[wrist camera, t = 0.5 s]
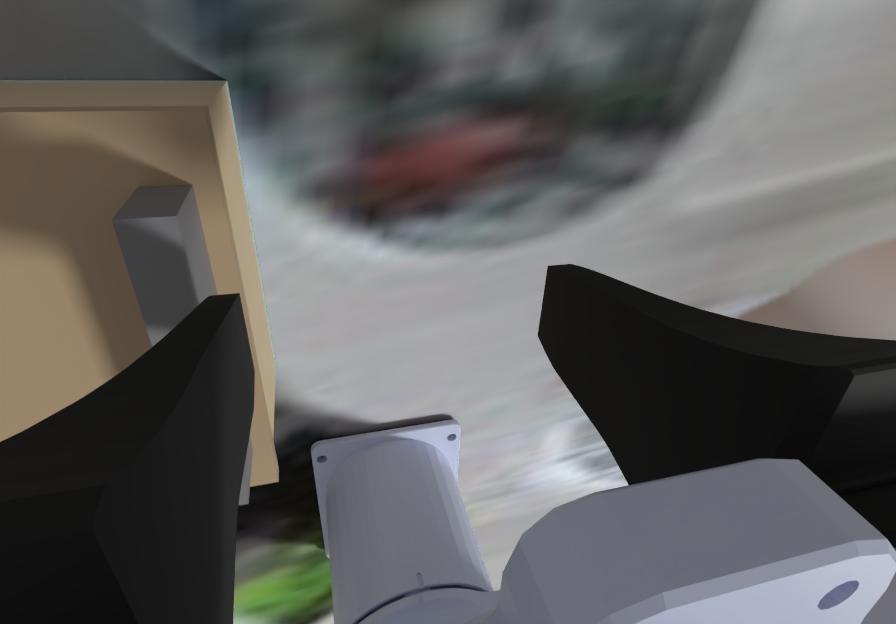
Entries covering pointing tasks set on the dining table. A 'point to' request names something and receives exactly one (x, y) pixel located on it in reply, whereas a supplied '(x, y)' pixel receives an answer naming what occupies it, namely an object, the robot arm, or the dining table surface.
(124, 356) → the lid
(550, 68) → the dining table surface
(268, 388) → the box
